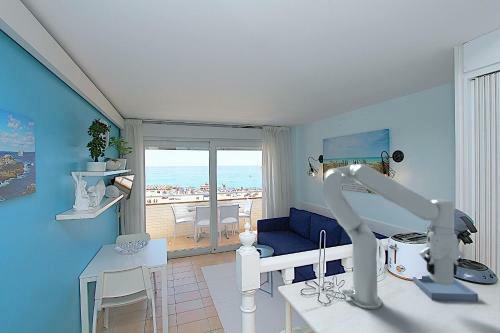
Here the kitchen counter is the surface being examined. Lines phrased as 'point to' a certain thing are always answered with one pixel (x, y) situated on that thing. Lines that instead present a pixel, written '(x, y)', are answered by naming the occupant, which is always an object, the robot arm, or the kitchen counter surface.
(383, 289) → the kitchen counter surface
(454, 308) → the kitchen counter surface
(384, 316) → the kitchen counter surface
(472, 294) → the tray
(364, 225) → the robot arm
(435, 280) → the can
